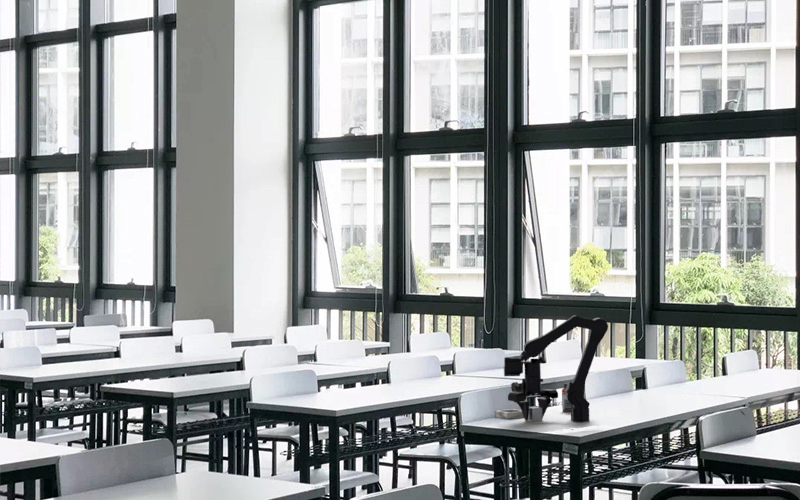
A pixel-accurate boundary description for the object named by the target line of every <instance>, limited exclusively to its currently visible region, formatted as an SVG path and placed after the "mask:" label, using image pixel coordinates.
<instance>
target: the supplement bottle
mask: <svg viewBox="0 0 800 500" xmlns="http://www.w3.org/2000/svg"><path fill="white" fill-rule="evenodd" d="M566 387H567V382H564V383H563V388H562V389H561V404H562V405H561V406H562V407H561V408H562V412H563V413H566V412H571V407H573V406H572V404H571V403H570V402H569V401H568V400H567V399H566V397H565V391H564V390H565V389H566Z"/></svg>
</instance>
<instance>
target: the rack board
mask: <svg viewBox="0 0 800 500" xmlns="http://www.w3.org/2000/svg"><path fill="white" fill-rule="evenodd" d="M492 418H499V419H504V420H505V419H506V420H513V419H514V420H515V419H523V418H524V416H523V413H522V411H521V409H518V408H517V409H516V408H510V409H509V408H508V409H500V410H499V409H498V410H494V416H492Z"/></svg>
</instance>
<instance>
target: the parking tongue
mask: <svg viewBox="0 0 800 500" xmlns="http://www.w3.org/2000/svg"><path fill="white" fill-rule="evenodd" d="M520 422H521V423H527V424H531V425H533V424H540V423H541V424H542V423H547V421H545V420H542V422H535V423H531V422H526V421H525V420H521V421H520Z"/></svg>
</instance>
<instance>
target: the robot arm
mask: <svg viewBox="0 0 800 500" xmlns="http://www.w3.org/2000/svg"><path fill="white" fill-rule="evenodd" d="M575 328H581V329H587V330H588V332H587V333H588V334H587V342H586V344H585V346H584V350H583V351H582V352H583V353H582V356H581V358H580V360H579V365H578V368H577V370H576V373H575V375H574V377H573V378H572V380H567V382H566V383H567V387H566V389H565V390H564V391H565V397H566V399H567V400H568V401H569V402H570V403H571V404H572V406H573V407H571V413H570V421H572V422H574V423H588V422H590V408H589V407H590V402H589V401H588V400H587V399H586V398H585V397H584V395H585V390H586V389H585V387H586V382H587V381H586V380H587V377H588V375H589V372H590V370H591V366H592V363H593V361H594V357H595V355H596V352H597V349H598V346H599V344H601V341H602V340H603V339H604V337H605V335H606V333H607V332H608V330H609V324H608V322H607V321H606V320H605V319H603V318H602V317H601V318H600V317H594V318H593V319H592V318H586V317H581V316H579V315H572V316H571V317H569V318H568V319H567V320H565V321H563V322H562V323H560V324H559V325H557V326H555V327H554V328H553V329H551V330H550V331H548V332H546V333H545V334H543V335H541V336H538V337H535V338H533V339H530V340H528V341H526V342H525V343H524V345H523V350H522V352H521V353H520V354H519V356H518V357H509V356H505V357H504V361H503V362H504V364H503V376H504V377H520V376H521V374H523V373H524V378H522V380H521V383H518V381H514V382H511V385H510V386H511V387H510V388H511V392H508V395H507V401H508V402H509V401H511V402H514V403H515V404H517V405H518V407H519V408H520V410H521V411H522V413H523V416H524V421H525V420H528V415H529V407H530V403H531V402H530V401H528V399H534V398H536V400H537V403H538V407H541V408H542V419H544V417H545V414H546V412H547V409H548V407H549V406H550V404H551V402H552V401H554V400H553V399H558V398H559V392H558V391H557V390H556V389H550V388H543V389H542V383H544V379H543V378H541V377H542V376H541V375H542V373H541V364H546V360H545V359H544V358H543V357H542V356H541V353H543V352H544V350H546V349H547V348H548V346H550V345H551V344H552V343H554V342H556V341H557V340H558V339H560V338H562V337H563V336H565V335H566V334H568V333H570V332H571V331H573V330H574V329H575ZM538 356H539V357H538ZM537 357H538V358H537ZM529 359H530V360H529ZM528 360H529V361H528Z"/></svg>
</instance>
